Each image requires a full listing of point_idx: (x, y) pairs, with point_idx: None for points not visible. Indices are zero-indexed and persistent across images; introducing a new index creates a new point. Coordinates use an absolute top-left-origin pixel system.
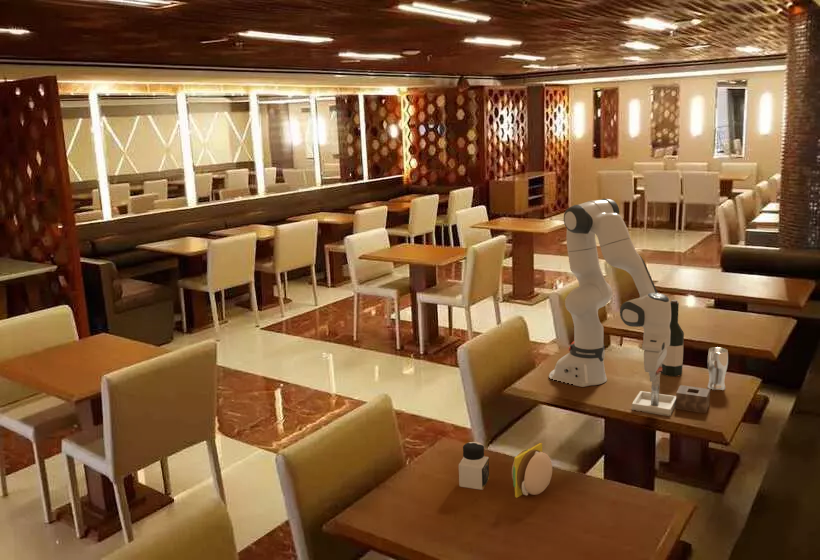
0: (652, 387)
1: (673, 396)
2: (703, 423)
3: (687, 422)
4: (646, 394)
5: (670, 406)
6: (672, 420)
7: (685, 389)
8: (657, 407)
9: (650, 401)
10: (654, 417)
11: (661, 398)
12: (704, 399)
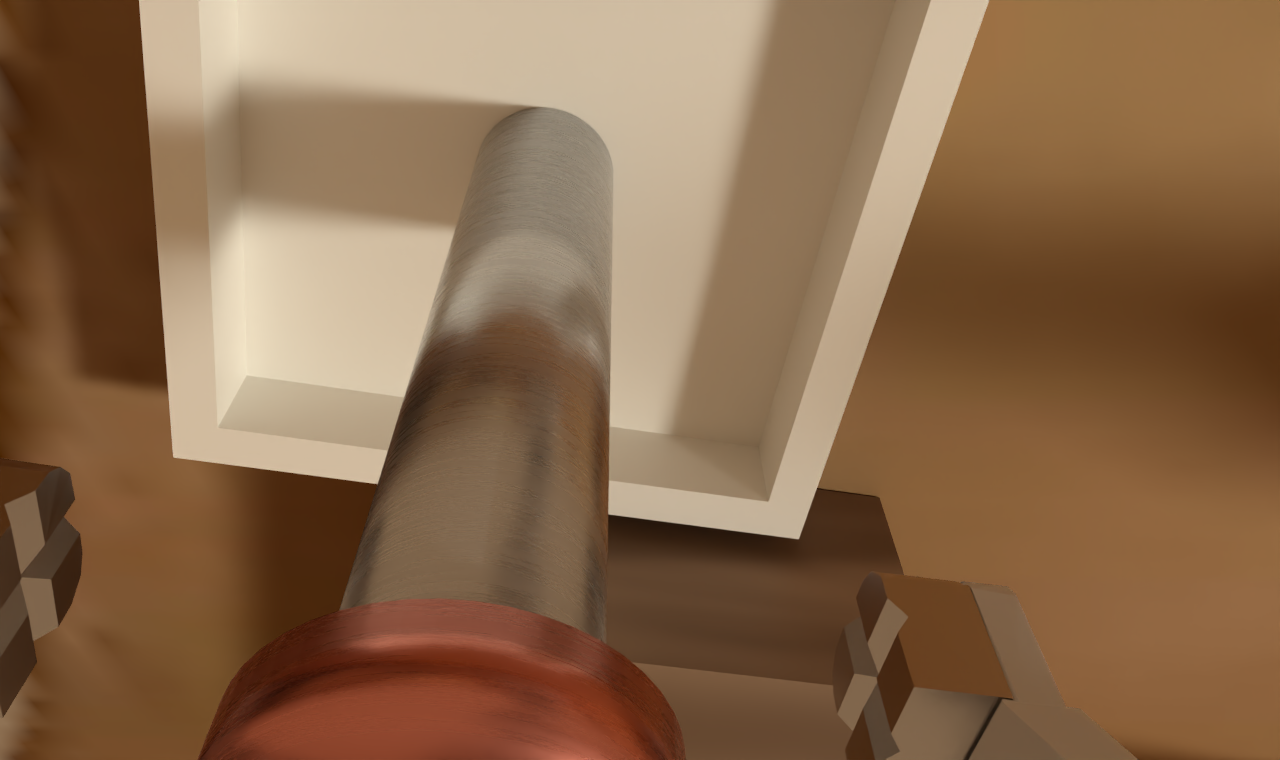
0: (441, 309)
1: (782, 492)
2: (177, 707)
3: (112, 573)
4: (906, 27)
5: (307, 458)
6: (75, 417)
7: (730, 755)
8: (159, 270)
9: (696, 95)
10: (44, 171)
11: (813, 289)
12: None
